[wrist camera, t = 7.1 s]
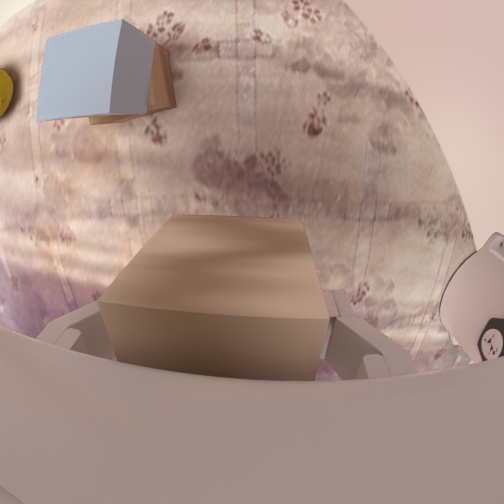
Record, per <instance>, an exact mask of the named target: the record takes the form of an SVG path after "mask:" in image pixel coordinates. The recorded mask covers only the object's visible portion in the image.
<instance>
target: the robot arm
mask: <svg viewBox="0 0 504 504" xmlns="http://www.w3.org/2000/svg"><path fill="white" fill-rule="evenodd" d="M322 292H323V296H324V299H325V303H326V307H327V311H328V315H329V318H330V319H329V324H328V328H327V332H326V337H325V341H324V345H323V349H322V353H321V356H320V359H325V360H326V362H327V363H328V364H329V365H330V366H331V367H332V368H333V370H334V371H335V372H336V373H337V374H338V375H339V376H340V377H341V379H342V380H336V381H274V380H253V379H238V378H225V377H214V376H205V375H196V374H188V373H180V372H173V371H167V370H161V369H155V368H149V367H143V366H138V365H133V364H128V363H123V362H118V361H114V360H110V359H111V358H112V357H114V356H115V352H114V350H113V347H112V344H111V342H110V339H109V336H108V333H107V330H106V327H105V324H104V321H103V318H102V315H101V312H100V309H99V305H98V302H97V301H94V302H92V303H90V304H88V305H86V306H83V307H81V308H79V309H77V310H75V311H72V312H70V313H68V314H66V315H64V316H62V317H59V318H57V319H55V320H53V321H51V322H49V323H48V325H47V326H46V327H45V328H44V329H43V331H42V332H41V333H40V334H39V335H38V337H37V338H36V339H34V338H31V337H28V336H25V335H23V334H20V333H17V332H14V331H12V330H9V329H7V328H4V327H2V326H0V504H504V236H503V235H502V234H500V233H498V232H495V233H493V234H492V235H491V237H490V238H489V239H488V241H487V242H486V243H485V245H484V246H483V247H482V248H481V249H480V250H479V251H478V252H476V253H475V254H473V255H472V256H471V257H470V258H468V259H467V260H466V261H465V262H464V263H463V264H462V266H461V267H460V268H459V269H458V270H457V272H456V273H455V274H454V276H453V277H452V279H451V281H450V283H449V284H448V286H447V288H446V291H445V293H444V296H443V298H442V302H441V307H440V319H441V322H442V324H443V326H444V327H445V328H446V329H447V330H448V331H449V334H450V340H451V342H452V343H453V344H454V345H458V344H459V345H460V346H461V347H462V348H463V349H464V351H465V352H466V353H467V354H468V355H469V357H470V358H471V359H472V360H473V361H474V362H475V363H474V364H469V365H464V366H459V367H454V368H449V369H443V370H437V371H431V372H424V373H418V371H417V369H416V367H415V364H414V362H413V360H412V358H411V356H410V353H409V351H407V350H406V349H405V348H403V347H402V346H400V345H399V344H397V343H396V342H395V341H393V340H392V339H390V338H389V337H387V336H386V335H385V334H383V333H382V332H380V331H379V330H377V329H376V328H374V327H373V326H372V325H370V324H369V323H367V322H366V321H364V320H363V319H361V318H360V317H356V316H355V314H354V311H353V309H352V306H351V303H350V301H349V298H348V296H347V293H346V291H345V290H322Z"/></svg>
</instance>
